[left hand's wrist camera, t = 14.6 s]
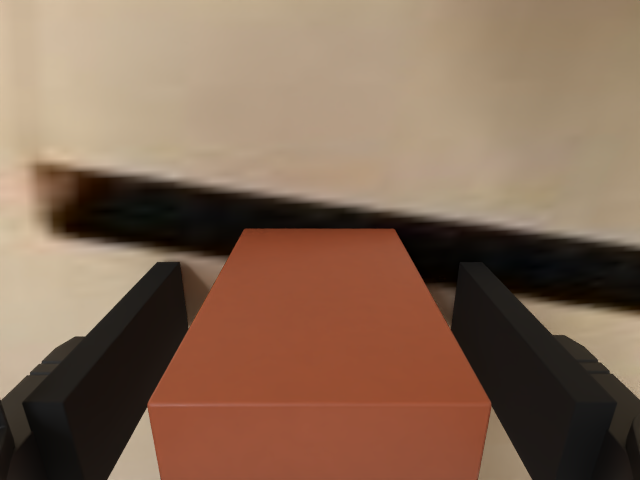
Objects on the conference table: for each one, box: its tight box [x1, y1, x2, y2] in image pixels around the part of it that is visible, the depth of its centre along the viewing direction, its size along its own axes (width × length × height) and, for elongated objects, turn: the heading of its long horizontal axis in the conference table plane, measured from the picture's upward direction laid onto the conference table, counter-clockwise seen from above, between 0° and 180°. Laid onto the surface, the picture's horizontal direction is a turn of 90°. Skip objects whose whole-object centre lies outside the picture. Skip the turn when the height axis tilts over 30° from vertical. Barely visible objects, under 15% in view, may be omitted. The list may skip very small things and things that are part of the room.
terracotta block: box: [147, 229, 491, 480], centre depth 10 cm, size 5×5×8 cm
